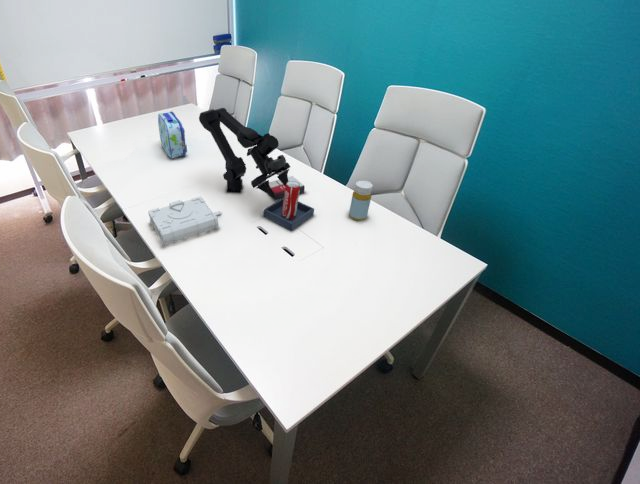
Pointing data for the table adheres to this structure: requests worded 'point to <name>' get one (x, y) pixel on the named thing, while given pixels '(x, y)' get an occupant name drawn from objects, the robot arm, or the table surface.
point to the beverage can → (290, 200)
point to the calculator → (283, 187)
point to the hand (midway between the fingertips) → (281, 192)
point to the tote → (276, 216)
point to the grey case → (183, 220)
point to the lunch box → (172, 135)
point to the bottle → (360, 200)
